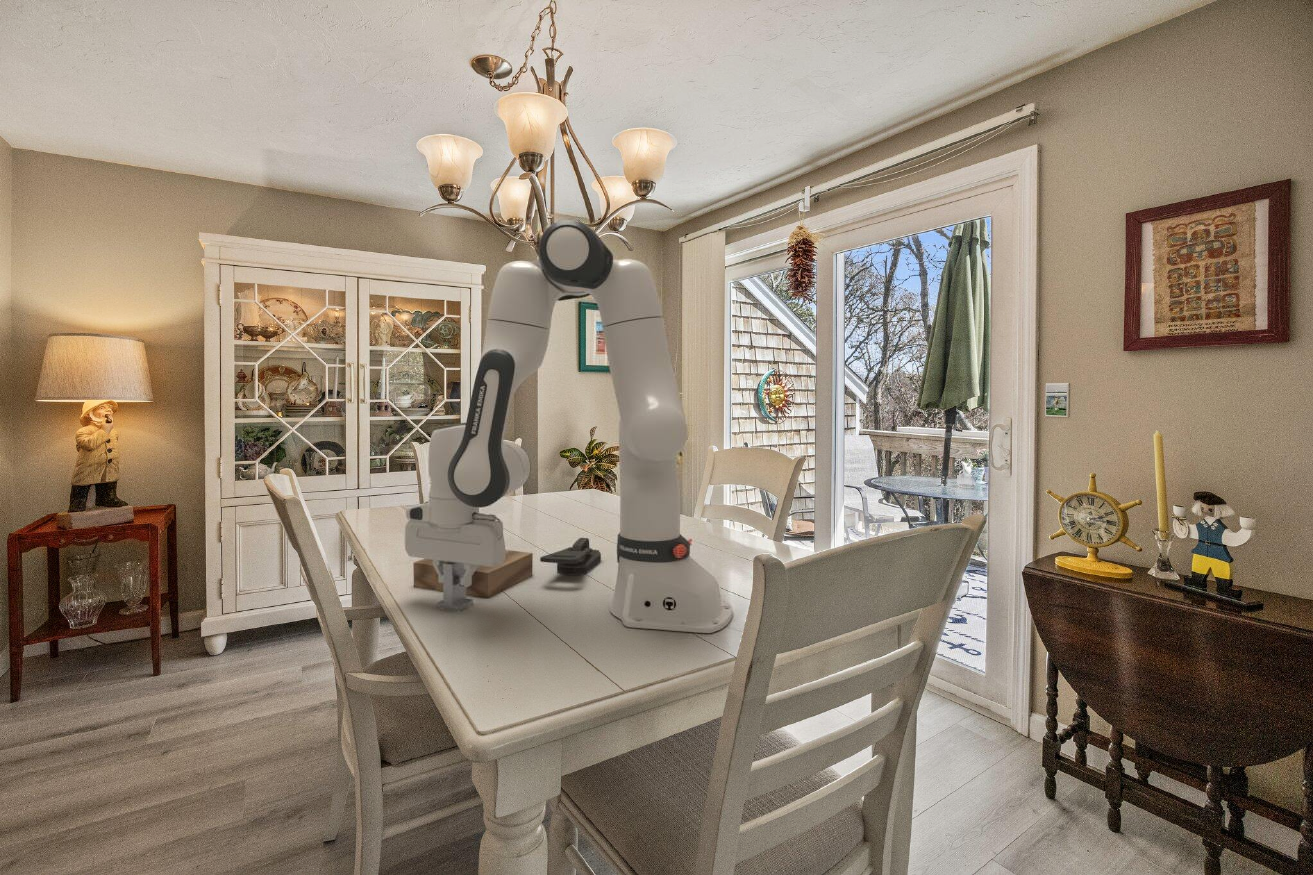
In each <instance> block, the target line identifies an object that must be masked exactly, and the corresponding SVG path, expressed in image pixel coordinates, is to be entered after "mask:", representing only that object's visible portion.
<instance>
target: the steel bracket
mask: <svg viewBox="0 0 1313 875" xmlns="http://www.w3.org/2000/svg"><path fill="white" fill-rule="evenodd" d="M465 572H466V569H464V564H463V563H455V562H446V563H444V564H443V591H442V592H443V593H442V595H443V598H442V600H440V601H437V602H436V609H440V608H443V609H442V610H446V609H447V610H449V611H452V610H455V611H454V612H458V611H460V612H461V610H462V611H463V609H464V610H465V608H466V609H467V608H470V607H472V606H473V605H474V599H473V598H467V595H466V587H462V586H459V583H460V582H459V577H461V576H464V574H465ZM469 606H470V607H469Z"/></svg>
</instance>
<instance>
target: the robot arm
mask: <svg viewBox="0 0 1313 875" xmlns="http://www.w3.org/2000/svg"><path fill="white" fill-rule="evenodd" d="M537 247H538V249H537V257H538V259H536V260H534V261H533V260H532V261H531V260H530V261H529V260H528V261H526V260H516V261H510V262H507V263H505V264H504V265H503V266H501V268H500V269H499V271H498V273H497V275H496V279H495V281H494V285H493V289H492V292H491V296H490V300H489V305H488V310H487V316H486V319H487V320H486V326H485V333H484V338H483V339H484V340H483V346H482V351H481V352H482V353H481V356H480V359H479V360H480V361H479V364H478V368H477V371H476V376H475V379H474V382H473V383H474V384H473V388H472V392H471V398H470V402H469V408H468V411H467V417H466V422H460V423H453V424H447V425H442V426H439V427H437V428H436V429H434V430H433V431H432V433H431V435H430V439H429V440H430V441H429V446H428V447H429V448H428V460H427V462H428V467H427V468H428V470H427V471H428V475H429V479H430V489H429V492H428V501H426V502H423V503H422V504H419V505H414V506H411V507H408V508H407V509H406V510H405V516H406V517H405V518H406V519H407V520H408V521H407V522H406V524H405V527H404V551H405V552H406V554H407V555H408V557H412V558H417V559H419V558H420V559H433V566H434V568H435V570H436V572H437V574H438V579H439V583H441V584H443V564H444V563H446V561H448V562H455V563H463V564H464V569H466V572H465V574H464V576H461V577H459V582H460V583H459V586H462V587H469V586H471V584H472V575H473V573H474V572H475V570H476V568H477V565H478V566H485V567H495V566H497V565H500V564H501V563H503V561H504V560H505V558H506V552H505V550H506V543H505V537H504V523H503V521H502V520H501V519H500V518H499V517H497V515H496V514H490V513H489V514H485V513H482V512H480V508H486V507H490V506H492V505H493V504H495V503H496V502H497V501H498V500H500V499H501V498H503V497H506V496H507V495H510V494H511V493H513V492H515V491H517V490H519V489H520V488H521V487H523V486H524V485H525V484H526V483H527V482H528V480H529V478H530V475H531V472H532V465H531V464H532V463H531V460H530V456H529V454H528V453H527V451H526V450H525V449H524V448H523V447H521V446H520V445H519V444H516V443H513V442H509V441H506V440H504V438H505V433H506V429H507V428H506V427H507V423H508V422H507V421H508V417H509V411H510V406H511V402H512V399H513V396H514V395H515V393H516V392H517V389H518V388H519V387H520V385H521V384H522V383H523V382H524V381H525V380H526V379H527V378H528V377H530V376H531V375H532V374H534V373H535V372H536V371H537V370H538V369H540V368H541V366H542V364H543V362H544V359H545V356H546V353H547V350H548V346H549V345H548V344H549V340H550V333H551V326H552V317H553V310H554V307H555V305H556V302H559V301H560V302H561V301H568V300H573V299H583V298H586V297H589V296H592V297H593V300H595V302H596V304H597V307H598V311H599V316H600V322H601V328H602V333H603V338H604V344H605V350H606V355H607V360H608V367H609V373H610V376H611V380H612V385H613V389H614V393H615V398H616V403H617V408H618V412H619V417H620V418H619V423H618V454H619V456H618V457H619V464H618V465H619V491H620V492H619V493H620V496H619V497H620V499H619V501H620V502H619V514H620V515H619V533H618V534H617V540H616V541H617V542H616V561H617V563H618V564H617V565H618V566H617V576H616V582H615V588H614V591H613V592H614V593H613V598H612V601H611V603H610V607H609V611H610V612H611V614H612V615H613V616H615V617H616V618H618V619H619V620H621V622H622V624H623V625H624V626H625V627H627V628H635V629H650V630H662V631H663V630H664V631H675V632H689V633H701V634H711V633H715V632H717V631H720V630H722V629H723V628H725V627H726V626H727V625H728V624H729V623H730V622H731V620H732V618H733V607H732V605H731V604H729V602H726V601H722V600H721V599H722V598H721V591H720V586H719V582H718V580H717V578H716V577H715V576H714V575H712V574H711V573H710V572H709V571H708V570H706V569H705V568H704V567H703V566H702V565H701V564H699V563H698V562H697V561H696V560H695V559H694V558H693V557H691V556H690V554H691V546H692V544H693V543H692V542H693V541H692V540H693V539H692V538H689V539H688V540H687V539H686V538H685V537H684V536H683V535H682V534H681V488H680V479H679V468H678V467H679V466H678V456H679V454H680V453H681V452H682V451H683V449H684V448H685V446H686V443H687V440H688V433H689V432H688V424H687V421H686V415H685V412H684V407H683V406H684V405H683V403H682V399H681V394H680V391H679V386H678V383H677V380H676V379H677V378H676V375H675V372H674V369H673V365H672V361H671V360H672V359H671V356H670V355H671V354H670V350H669V344H668V337H667V332H666V326H665V320H664V316H663V315H664V314H663V310H662V304H661V302H660V297H659V293H658V291H657V288H656V284H655V281H654V277H653V275H652V273H651V271H650V269H649V267H648V266H647V265H646V264H645V263H643V261H639V260H636V259H632V258H623V259H622V258H621V259H614V256H613V253H612V251H611V250H610V249H609V248H608V247H607V245H606V243H604V241H603V240H602V239H601V238H600V236H599V235H598V233H597V232H595V231H594V230H593V228H591V227H590V226H588V224H586V223H584V222H582V221H580V220H575V219H571V218H570V219H562V220H557V221H556V222H554V223H552V224H550V225H549V226H548V227H547V228H546V229H545V230H544V232H543V233H542V235H541V237H540V239H539V242H538V246H537Z"/></svg>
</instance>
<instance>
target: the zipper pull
mask: <svg viewBox="0 0 1313 875" xmlns="http://www.w3.org/2000/svg"><path fill="white" fill-rule="evenodd" d="M601 556H602V553H601V551H600V550H599V549H593V548H592V547H590V538H588V537H579V538H578V539H577V540H576V541H575V542H574V543H573V544H572V546H570V547H567V548H564V549H562V550H558V551H555V552H552V553H549V554H546V555H543V556H540V557H539V558H540V560H539V561H540V562H541V563H552V564H556V573H557V574H561V575H565V576H581V575H587V574H588V573H590V571H592V570H593V569H594V568H595V567H597V566H598V565H599V564H600V563H601V561H602V558H601Z"/></svg>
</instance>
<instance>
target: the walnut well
mask: <svg viewBox="0 0 1313 875" xmlns="http://www.w3.org/2000/svg"><path fill="white" fill-rule="evenodd" d="M505 552H506V558H505V560H504V561H503V563H501V564H500V565H497V566H495V567H485V566H478V565H477V568H476V570H475V572H474V573H473V575H472V584H471V586H469V587H466V596H472V597H477V598H478V597H479V598H484V599H489V598H492V597H494V596H495V595H497V594H499V593H501V592H504V591H505V590H508V589H509V588H512V587H513V586H515V585H517V584H519V583H521V582H523V581H525V580H526V579H528V578H530V577H533V571H534V570H533V568H534V567H533V552H527V551H518V550H512V549H511V550H510V549H505ZM446 562H448V561H446ZM414 586H415V587H414ZM413 587H414V588H420V589H426V588H427V590H433V591H438V590H440V591H441V592H443V584H441V583H439V579H438V574H437V572H436V570H435V568H434V566H433V559H425V558H421V559H420V560H417V561H414V562H413ZM440 591H439V592H440Z"/></svg>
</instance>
